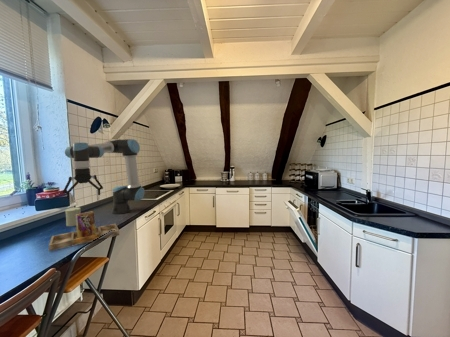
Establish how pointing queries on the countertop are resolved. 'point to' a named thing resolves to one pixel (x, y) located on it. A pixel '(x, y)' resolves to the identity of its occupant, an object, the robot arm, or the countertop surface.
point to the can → (72, 216)
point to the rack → (72, 239)
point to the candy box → (85, 224)
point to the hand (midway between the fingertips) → (84, 202)
